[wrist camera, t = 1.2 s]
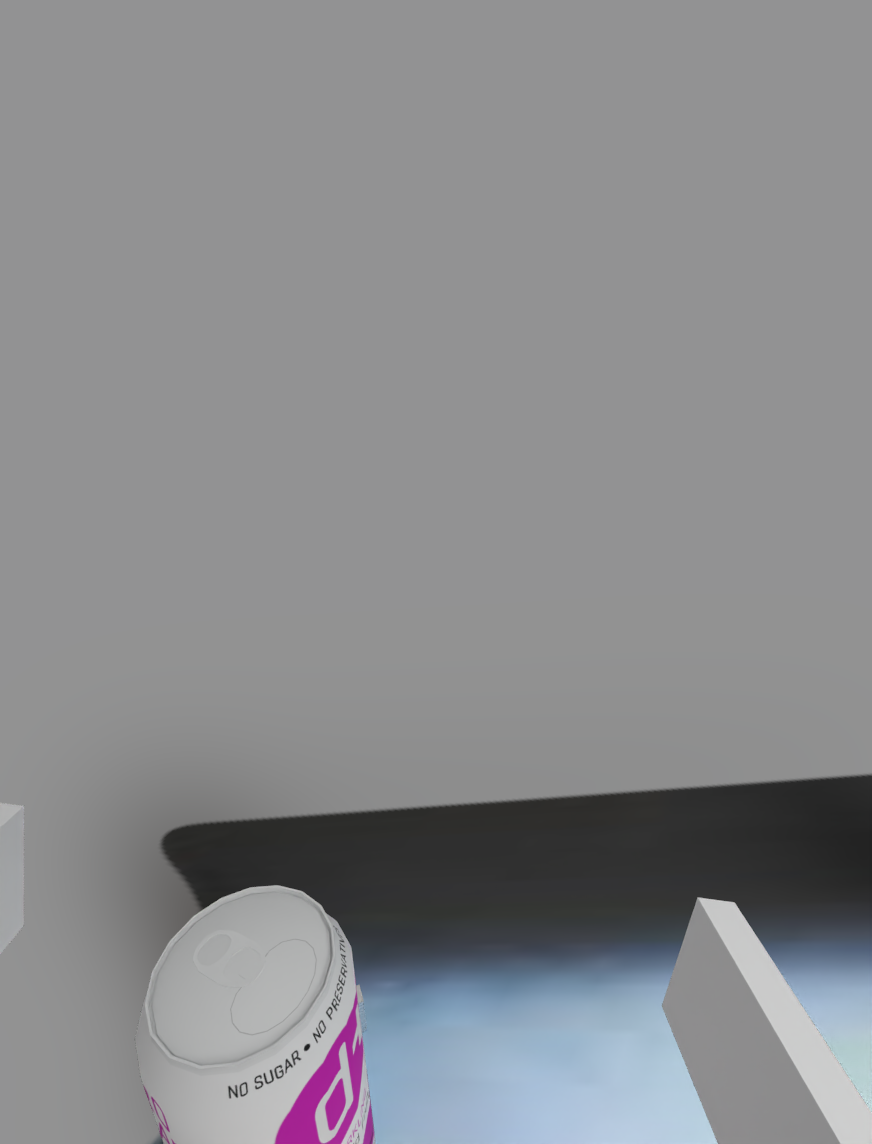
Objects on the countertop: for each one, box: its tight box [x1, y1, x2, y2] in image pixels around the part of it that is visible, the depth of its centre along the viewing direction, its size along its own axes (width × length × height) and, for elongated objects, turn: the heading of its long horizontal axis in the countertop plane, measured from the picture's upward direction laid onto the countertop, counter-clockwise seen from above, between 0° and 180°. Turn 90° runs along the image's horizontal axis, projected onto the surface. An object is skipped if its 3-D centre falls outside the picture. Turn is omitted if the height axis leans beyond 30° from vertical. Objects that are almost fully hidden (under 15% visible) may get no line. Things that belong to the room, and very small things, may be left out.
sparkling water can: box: [135, 885, 376, 1144], centre depth 25 cm, size 8×8×15 cm
